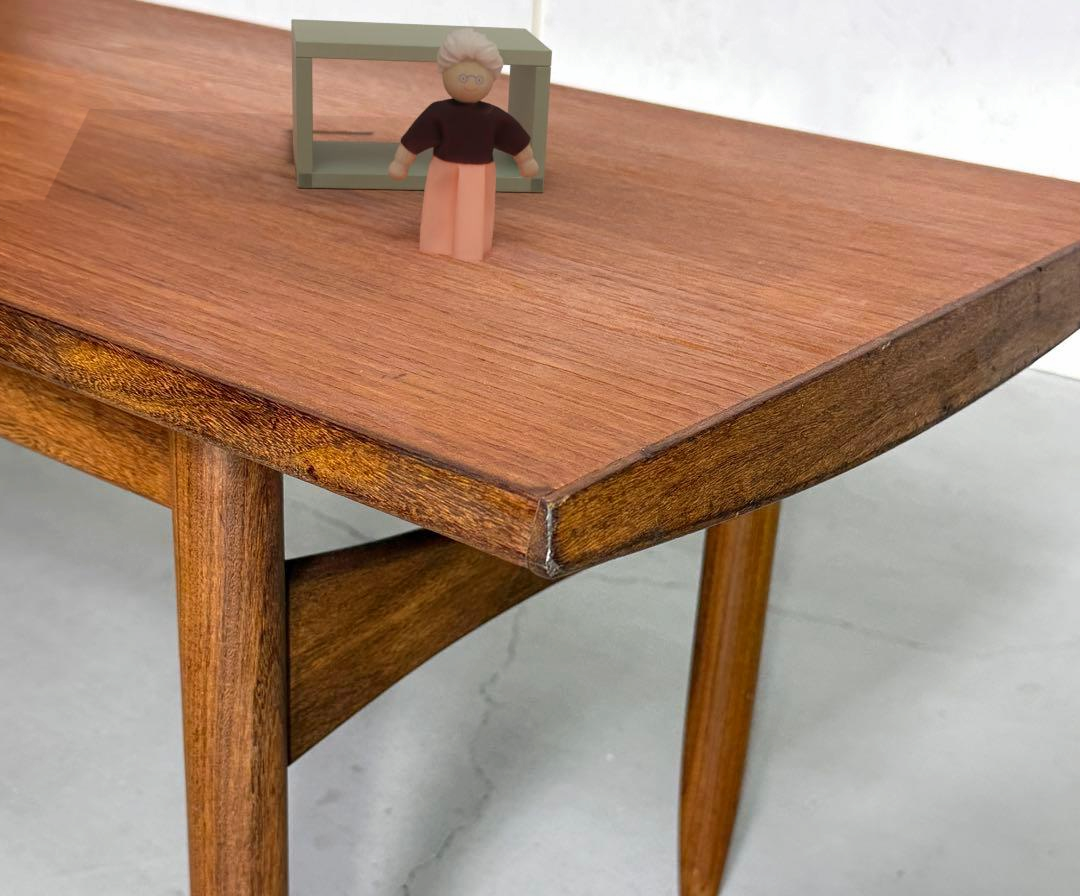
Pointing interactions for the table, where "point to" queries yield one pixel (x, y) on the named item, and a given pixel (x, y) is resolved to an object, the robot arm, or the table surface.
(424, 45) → the frame
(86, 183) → the table surface
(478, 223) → the grandmother figurine
